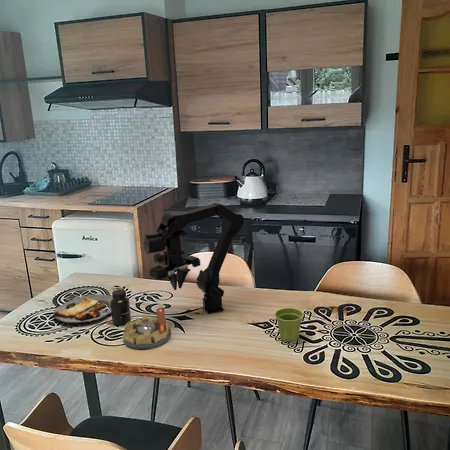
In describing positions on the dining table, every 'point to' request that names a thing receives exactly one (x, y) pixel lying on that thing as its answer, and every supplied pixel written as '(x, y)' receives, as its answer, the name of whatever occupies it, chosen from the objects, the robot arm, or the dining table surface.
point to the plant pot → (289, 323)
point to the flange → (150, 327)
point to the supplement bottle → (120, 308)
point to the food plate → (83, 309)
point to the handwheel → (147, 338)
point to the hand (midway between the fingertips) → (177, 289)
